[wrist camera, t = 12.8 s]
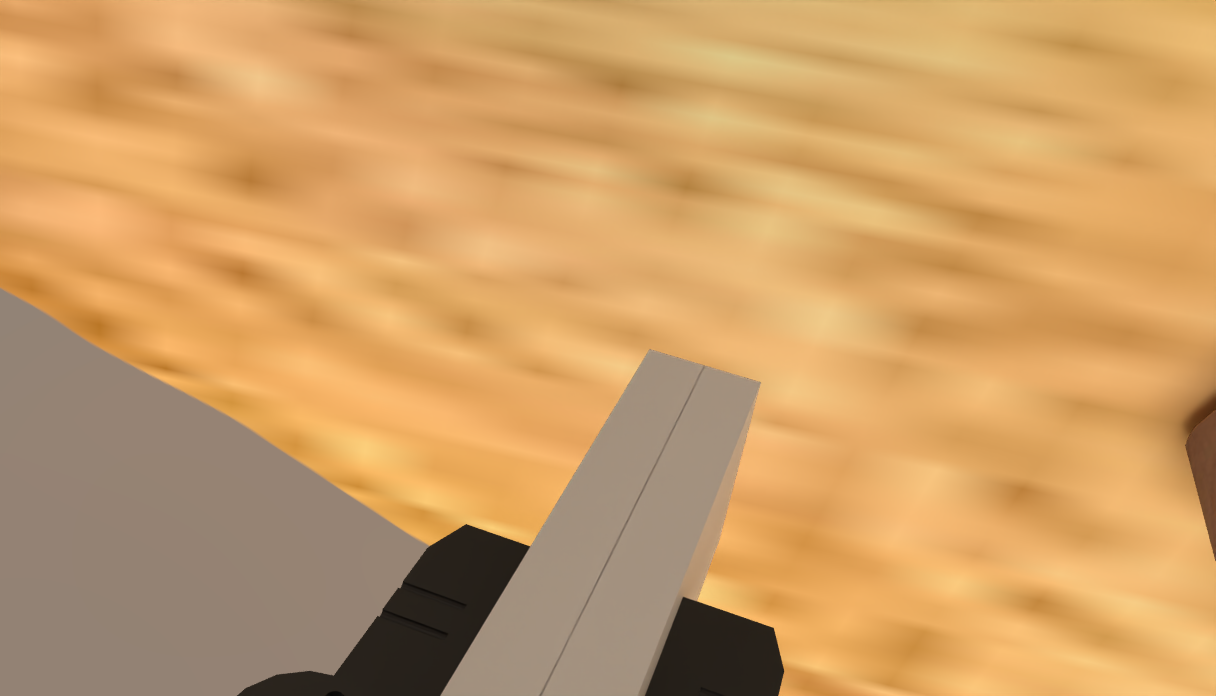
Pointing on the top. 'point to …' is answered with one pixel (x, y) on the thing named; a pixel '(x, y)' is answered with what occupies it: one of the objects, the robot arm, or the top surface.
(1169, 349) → the top surface
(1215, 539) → the block
